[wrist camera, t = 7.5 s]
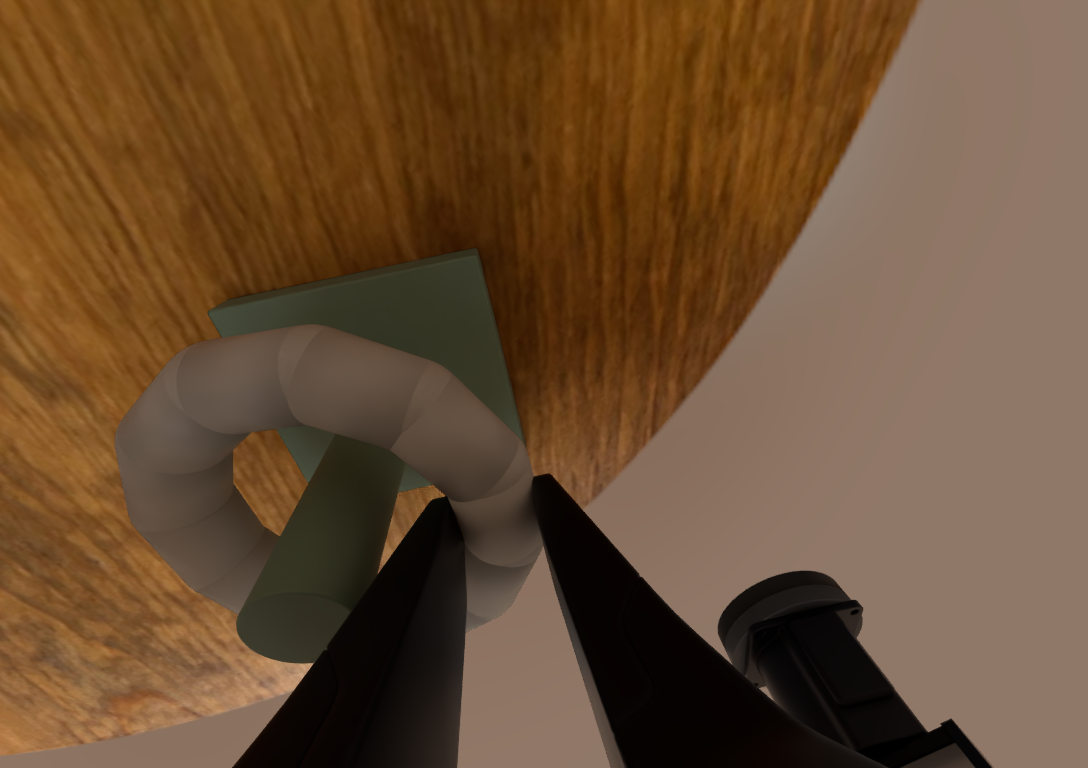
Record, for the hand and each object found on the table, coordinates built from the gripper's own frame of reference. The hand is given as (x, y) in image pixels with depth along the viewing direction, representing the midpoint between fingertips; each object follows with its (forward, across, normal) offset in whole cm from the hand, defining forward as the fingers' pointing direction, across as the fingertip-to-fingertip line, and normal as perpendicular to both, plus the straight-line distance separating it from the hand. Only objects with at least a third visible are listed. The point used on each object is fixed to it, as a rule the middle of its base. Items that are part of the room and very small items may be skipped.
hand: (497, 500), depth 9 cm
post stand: (+7, +4, 0) cm, 8 cm away
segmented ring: (+1, +4, 0) cm, 4 cm away
